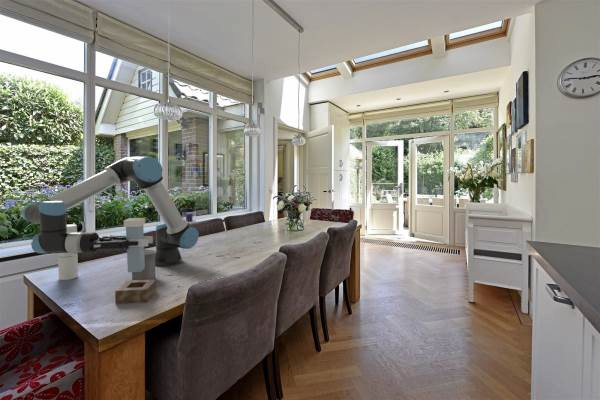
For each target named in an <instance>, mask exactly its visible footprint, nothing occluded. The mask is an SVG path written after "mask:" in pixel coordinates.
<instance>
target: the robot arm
mask: <svg viewBox="0 0 600 400" xmlns="http://www.w3.org/2000/svg"><path fill="white" fill-rule="evenodd" d="M163 180H164V177H163V166H162V163H160V161H158V159H156V158H154V157H151V156H145V155H142V156H127V157H124V158H122V159H119V160H118V161H116V162H114V163H112V164H110V165H108V166H106V167H104V169H103V171H101V172H98V173H96V174H95V175H93V176H90V177H88V178H86V179H85V180H82V181H80V182H78V183H76V184H74V185H72V186H70V187H68V188H66V189H64V190H61V191H60V192H57V193H56V194H54V195H52V196H50V197H47V198H45V199H43V200H41V201H39V202H37V203H36V202H35V203H30V204H27V205H26V206H25V207H24V208H23V209H22V211H21V215H22V217H23V219H24V220H26V221H27V222H29V223H31V224H38V225H39V229H40V230H39V231H40V233H39V232H38V233H36V234H35V235H34V236H33V237H32V241H31V242H30V243H31V246H30V247H31V249H32V250H33V252H35V253H36V254H47V255H52V254H58V253H73V252H74V254H77V255H78V254H79V253H95V252H96V251H98V250H108V249H109V250H111V249H116V250H117V249H122V250H123V249H125V250H127V249H129V247H142V246H144V247H148V246H149V244H153V243H154V242H153V241H154V237H153V235H151V236H150V235H149V236H148V235H147V236H145V235H144V239H130V240H129V241H128V240H126V235H109V236H108V235H103V236H101V237H100V236H99V234H98V233H97V232H77V233H67V225H68V224H67V223H68V222H67V221H68V218H67V213H68V212H67V211H68V210H70V209H72V208H74V207H76V206H78V205H79V204H81V203H83V202H85V201H87V200H89V199H90V198H92V197H94V196H96V195H98V194H100V193H102V192H104V191H105V190H107V189H110V188H111V187H113V186H120V185H122V184H125V183H127V182H134V183H135V184H136V186H137V187H138V189H139V190H143V191H144V192H145V193H146V195H147V197H148V199H149V201H151V203H152V204H153V205H152V206H153V207H154V209H155V210H156V211H157V212H158V214H159V217H161V220H162V221H163V222H162V223H158V224H156V226H155V267H171V266H175V265H178V264H181V263H182V262H183V261H182V260H183V258H182V255H181V252H180V250H179V249H183V250H184V249H186V250H188V249H192V248H193V247H195V245H197V243H198V240H199V231H198V230H197V228H195V227H192V226H191V225H190V223H189V222H188V220H186V219H184V218H183V217H182V215H181V213H180V212H179V210H178V208H177V206H176V205H175V203H174V201H173V199H172V198H171V196H170V194H169V192H168V190H167V189H166V187H165V186H164V184H163Z"/></svg>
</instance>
